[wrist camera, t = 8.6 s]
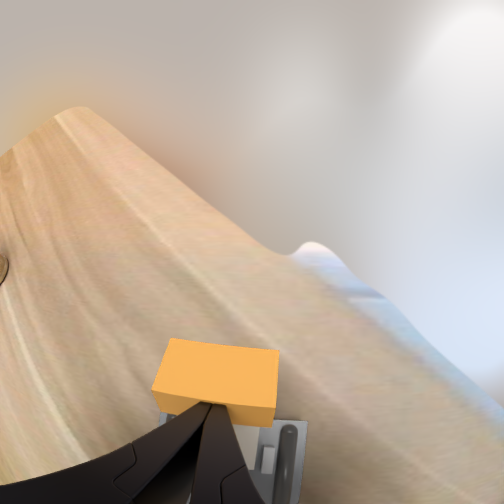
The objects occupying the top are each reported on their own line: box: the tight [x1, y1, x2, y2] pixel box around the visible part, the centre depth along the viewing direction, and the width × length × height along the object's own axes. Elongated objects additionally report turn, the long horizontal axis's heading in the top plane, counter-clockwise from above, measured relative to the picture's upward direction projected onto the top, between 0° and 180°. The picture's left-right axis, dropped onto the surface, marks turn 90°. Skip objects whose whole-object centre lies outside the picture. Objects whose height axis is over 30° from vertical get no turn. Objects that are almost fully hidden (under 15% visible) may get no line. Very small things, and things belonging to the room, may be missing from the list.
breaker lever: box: [151, 338, 279, 470], centre depth 12 cm, size 2×4×9 cm, turn 84°
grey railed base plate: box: [159, 412, 308, 504], centre depth 15 cm, size 8×9×5 cm
